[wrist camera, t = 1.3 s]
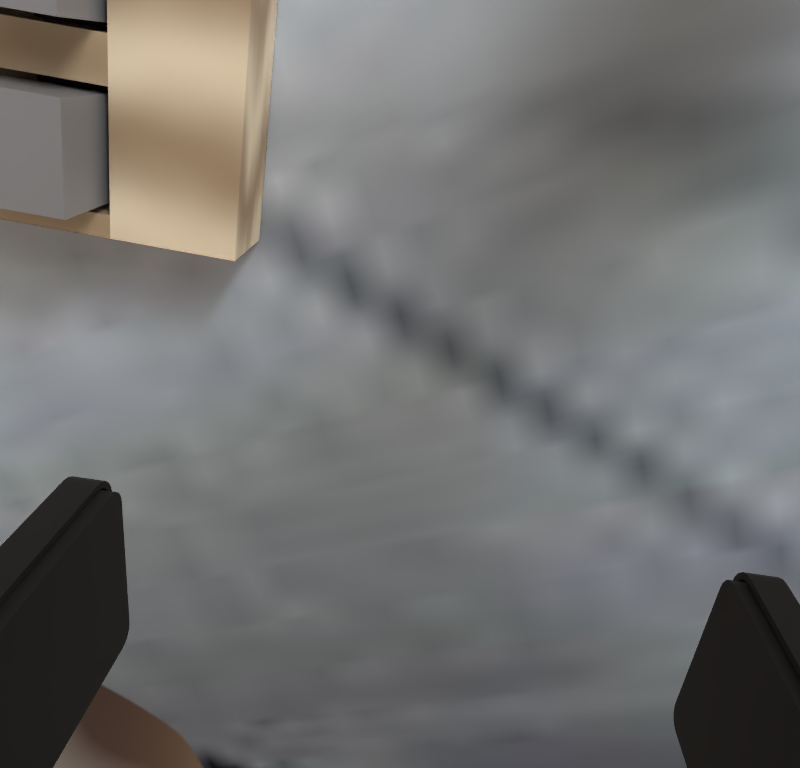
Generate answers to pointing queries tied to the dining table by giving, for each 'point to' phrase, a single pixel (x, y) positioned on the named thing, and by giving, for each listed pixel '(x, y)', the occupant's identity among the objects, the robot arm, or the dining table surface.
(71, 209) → the button
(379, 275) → the dining table surface
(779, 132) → the dining table surface
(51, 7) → the button
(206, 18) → the switch unit
